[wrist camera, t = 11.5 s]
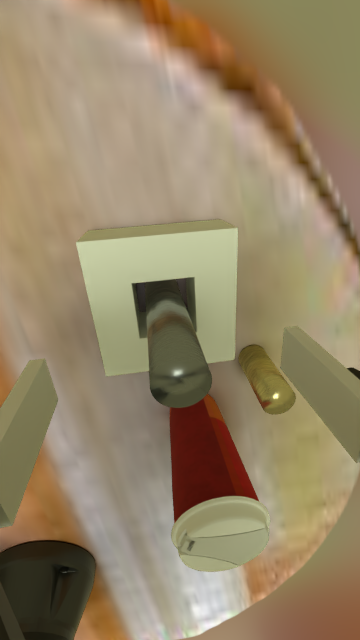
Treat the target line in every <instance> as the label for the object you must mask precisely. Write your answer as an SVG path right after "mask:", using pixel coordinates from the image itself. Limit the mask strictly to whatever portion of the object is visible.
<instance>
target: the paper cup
mask: <svg viewBox="0 0 360 640" xmlns="http://www.w3.org/2000/svg"><path fill="white" fill-rule="evenodd" d="M170 441H171V462H172V491H173V507H174V521H175V524H174V526H173V528H172V532H171V537H172V541H173V543H174V545H175V547H176V548H177V549H178V553H179V556H180V558H181V560H182V562H183V563H184V564H185V565H187V566H188V567H190V568H192V569H195V570H198V571H206V572H214V571H223V570H228V569H232V568H235V567H238V566H241V565H243V564H245V563H247V562H248V561H250V560H252V559H254V558H255V557H256V556H258V555H259V554H260V553H261V552H262V551H263V549H264V548H265V547H266V545H267V543H268V539H269V528H268V527H269V524H270V518H269V513H268V511H267V509H266V507H265V506H264V505H263V504H262V503H260V502H259V500H258V497H257V495H256V493H255V491H254V488H253V486H252V484H251V481H250V479H249V477H248V474H247V472H246V470H245V468H244V465H243V463H242V461H241V458H240V456H239V454H238V451H237V449H236V447H235V444H234V442H233V440H232V438H231V435H230V433H229V431H228V428H227V426H226V424H225V422H224V419H223V417H222V415H221V413H220V411H219V408H218V406H217V404H216V402H215V401H214V399H213V398H212V397H211V396H210V395H208V394H207V395H206V396H205V397H204V398H203V399H202V400H200V401H199V402H197V403H196V404H194V405H191V406H188V407H183V408H173V407H171V408H170Z"/></svg>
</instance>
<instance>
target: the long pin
mask: <svg viewBox="0 0 360 640" xmlns="http://www.w3.org/2000/svg"><path fill="white" fill-rule="evenodd" d="M145 300H146V319H147V338H148V357H149V376H150V390H151V393H152V395H153V397H154V398H155V399H156V400H157V401H158V402H159V403H161V404H163V405H165V406H168V407H173V408H183V407H188V406H191V405H194V404H196V403H197V402H199V401H200V400H202V399H203V398H204V397H205V396H206V395H207V393H208V392H209V390H210V388H211V384H212V376H211V373H210V370H209V367H208V365H207V362H206V359H205V357H204V354H203V351H202V349H201V346H200V343H199V340H198V338H197V335H196V332H195V330H194V327H193V324H192V322H191V319H190V316H189V314H188V311H187V308H186V306H185V303H184V300H183V298H182V295H181V292H180V290H179V287H178V284H177V282H176V279H170V280H160V281H150V282H146V283H145Z"/></svg>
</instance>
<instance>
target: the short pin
mask: <svg viewBox="0 0 360 640" xmlns="http://www.w3.org/2000/svg"><path fill="white" fill-rule="evenodd" d="M238 361H239V363H240V365H241V367H242V369H243V371H244V373H245V375H246V377H247V379H248V381H249V383H250V385H251V387H252V388H253V390H254V392H255V394H256V396H257V398H258V400H259V402H260V404H261V406H262V408H263V410H264V411H265V412H267V413H269V414H281V413H284V412H286V411H287V410H289V409H290V408H291V407H292V406H293V404H294V402H295V399H296V396H295V393H294V392H293V390H292V389H291V388H290V386H289V385H288V383H287V382H286V380H285V379H284V378H283V376H282V375H281V373H280V372H279V370H278V369H277V368H276V366H275V365H274V363H273V362H272V360H271V359H270V358H269V356H268V355H267V353H266V352H265V351H264V349H263V348H262V347H261V346H258V345H250V346H247V347H245V348H244V349H243V350H242V351H241V352H240V354H239V357H238Z"/></svg>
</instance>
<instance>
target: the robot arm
mask: <svg viewBox="0 0 360 640" xmlns="http://www.w3.org/2000/svg"><path fill="white" fill-rule="evenodd" d="M280 368H281V369H282V371H283V372H284V373H285V374H286V376H287V377H288V378H289V379H290V381H291V382H292V383H293V384H294V386H295V387H296V388H297V389H298V391H299V392H300V393H301V394H302V396H303V397H304V398H305V399H306V401H307V402H308V403H309V404H310V406H311V407H312V408H313V409H314V411H315V412H316V413H317V414H318V416H319V417H320V418H321V419H322V421H323V422H324V423H325V424H326V426H327V427H328V428H329V429H330V431H331V432H332V433H333V435H334V436H335V437H336V438H337V440H338V441H339V442H340V443H341V445H342V446H343V447H344V448H345V450H346V451H347V452H348V453H349V455H350V456H351V457H352V458H353V460H354V461H355V462H356V463H358V462H360V371H359V370H357V369H354V368H345V367H344V366H343V365H342V364H341V363H340V362H338V361H337V360H336V359H335V358H334V357H333V356H332V355H330V354H329V353H328V352H327V351H326V350H325V349H323V348H322V347H321V346H320V345H319V344H318V343H316V342H315V341H314V340H313V339H312V338H311V337H309V336H308V335H307V334H306V333H305V332H304V331H302V330H301V329H300V328H299V327H298V326H293V327H286V328H284V337H283V346H282V356H281V366H280ZM57 402H58V398H57V394H56V391H55V388H54V385H53V382H52V379H51V376H50V373H49V370H48V367H47V364H46V360H45V359H38V360H30V361H29V362H28V364H27V366H26V367H25V369H24V371H23V372H22V374H21V376H20V377H19V379H18V380H17V382H16V384H15V385H14V387H13V389H12V390H11V392H10V394H9V395H8V397H7V398H6V400H5V402H4V403H3V405H2V407H1V408H0V528H2V527H8V526H12V525H13V523H14V520H15V517H16V514H17V512H18V509H19V506H20V503H21V501H22V498H23V495H24V492H25V490H26V487H27V484H28V481H29V479H30V476H31V473H32V470H33V468H34V465H35V462H36V459H37V457H38V454H39V451H40V448H41V446H42V443H43V440H44V437H45V435H46V432H47V429H48V426H49V424H50V421H51V418H52V415H53V413H54V410H55V407H56V405H57ZM95 567H96V564H95V561H94V559H93V557H92V556H91V555H90V554H89V553H88V552H87V551H85V550H84V549H82V548H80V547H77V546H74V545H71V544H67V543H61V542H33V543H27V544H23V545H19V546H16V547H13V548H10V549H8V550H6V551H4V552H3V553H1V554H0V640H74V637H75V634H76V631H77V628H78V626H79V623H80V620H81V617H82V615H83V612H84V609H85V607H86V604H87V601H88V599H89V596H90V593H91V590H92V587H93V583H94V576H95Z"/></svg>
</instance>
